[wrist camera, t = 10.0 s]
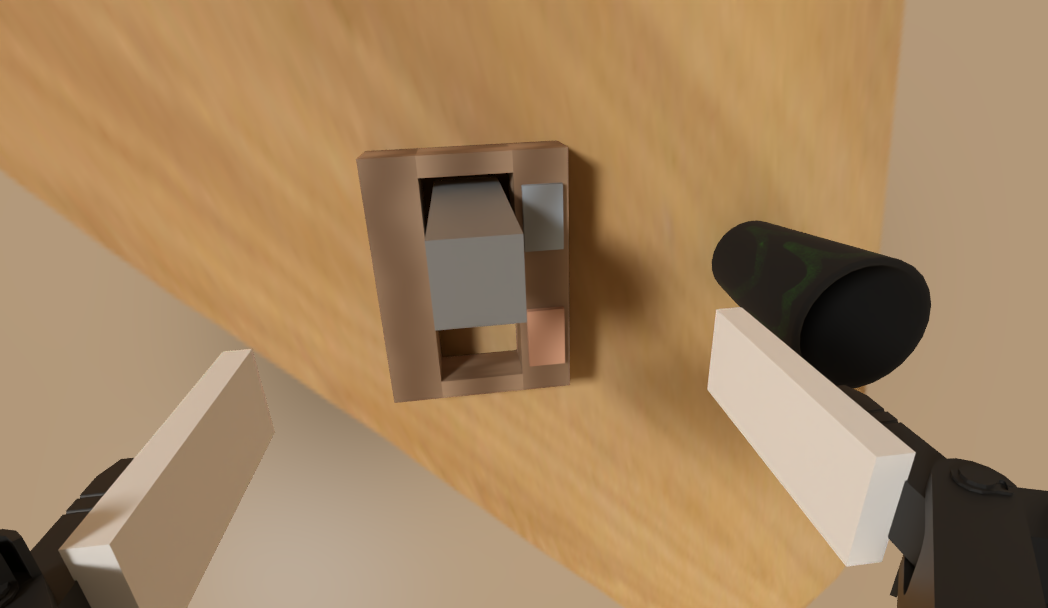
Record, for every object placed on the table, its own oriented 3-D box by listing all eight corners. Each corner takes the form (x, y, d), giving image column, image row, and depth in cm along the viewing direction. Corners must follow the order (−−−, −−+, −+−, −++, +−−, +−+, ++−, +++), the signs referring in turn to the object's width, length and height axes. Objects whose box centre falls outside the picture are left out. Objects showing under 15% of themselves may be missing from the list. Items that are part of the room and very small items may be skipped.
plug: (496, 176, 35) (523, 233, 22) (500, 236, 36) (526, 322, 24) (434, 180, 35) (424, 240, 22) (440, 240, 36) (435, 330, 23)
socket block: (557, 140, 35) (569, 147, 31) (560, 360, 41) (571, 388, 37) (365, 151, 33) (354, 160, 30) (399, 376, 40) (394, 406, 36)
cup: (768, 316, 42) (882, 402, 31) (681, 293, 40) (768, 375, 29) (817, 222, 39) (960, 279, 28) (725, 192, 37) (840, 241, 26)
